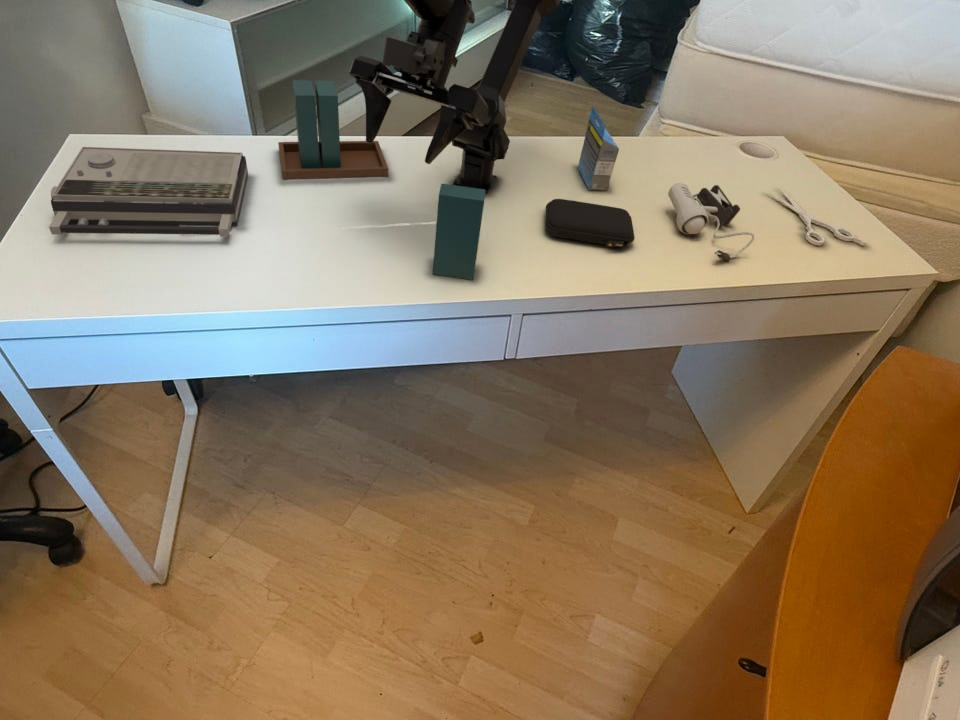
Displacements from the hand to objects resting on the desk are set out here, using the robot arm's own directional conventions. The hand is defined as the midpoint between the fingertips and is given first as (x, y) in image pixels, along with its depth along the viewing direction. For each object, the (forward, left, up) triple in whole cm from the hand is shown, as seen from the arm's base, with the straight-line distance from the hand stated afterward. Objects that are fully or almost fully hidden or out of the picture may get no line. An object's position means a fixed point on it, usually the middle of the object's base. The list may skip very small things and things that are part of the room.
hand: (397, 152), depth 83 cm
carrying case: (-19, +26, -15) cm, 36 cm away
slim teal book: (+2, +10, -15) cm, 18 cm away
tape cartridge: (-38, +23, -15) cm, 47 cm away
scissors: (-45, +63, -15) cm, 79 cm away
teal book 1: (-15, -23, -14) cm, 31 cm away
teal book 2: (-17, -20, -14) cm, 30 cm away
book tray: (-17, -20, -15) cm, 30 cm away
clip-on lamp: (-29, +46, -15) cm, 56 cm away
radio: (+8, -36, -15) cm, 40 cm away
